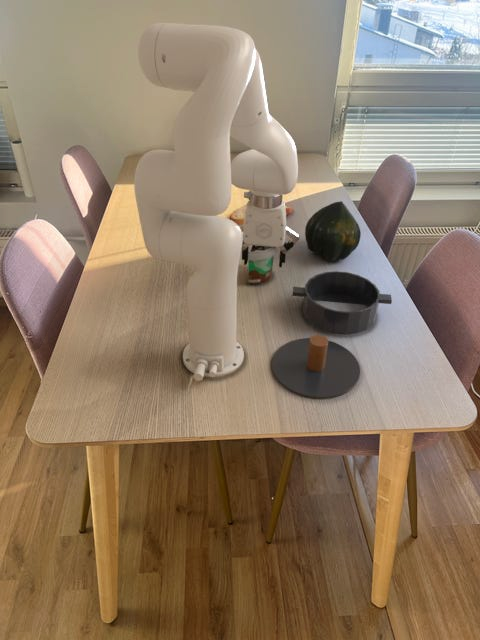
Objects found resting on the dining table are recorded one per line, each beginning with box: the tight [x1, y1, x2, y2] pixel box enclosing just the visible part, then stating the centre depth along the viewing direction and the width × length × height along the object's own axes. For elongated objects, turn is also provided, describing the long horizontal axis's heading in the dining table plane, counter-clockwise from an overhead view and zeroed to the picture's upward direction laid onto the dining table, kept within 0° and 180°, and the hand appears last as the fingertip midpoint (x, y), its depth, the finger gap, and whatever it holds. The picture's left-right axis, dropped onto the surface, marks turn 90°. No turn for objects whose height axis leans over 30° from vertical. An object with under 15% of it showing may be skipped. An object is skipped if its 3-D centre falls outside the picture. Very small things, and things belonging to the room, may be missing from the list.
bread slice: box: [228, 203, 293, 226], centre depth 158 cm, size 18×18×4 cm
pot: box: [291, 270, 393, 335], centre depth 117 cm, size 17×22×6 cm
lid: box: [271, 334, 361, 400], centre depth 102 cm, size 18×18×8 cm
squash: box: [304, 200, 362, 262], centre depth 139 cm, size 14×15×15 cm
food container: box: [247, 245, 278, 286], centre depth 129 cm, size 12×6×10 cm, turn 168°
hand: (263, 263), depth 129 cm, fingers open, 8 cm apart
